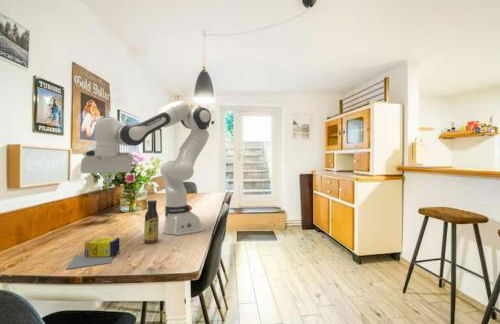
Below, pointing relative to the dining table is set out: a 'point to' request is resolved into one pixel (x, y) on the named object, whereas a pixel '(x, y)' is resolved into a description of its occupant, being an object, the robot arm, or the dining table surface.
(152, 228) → the sauce bottle
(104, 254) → the supplement box
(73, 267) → the slate pad
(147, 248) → the dining table surface
